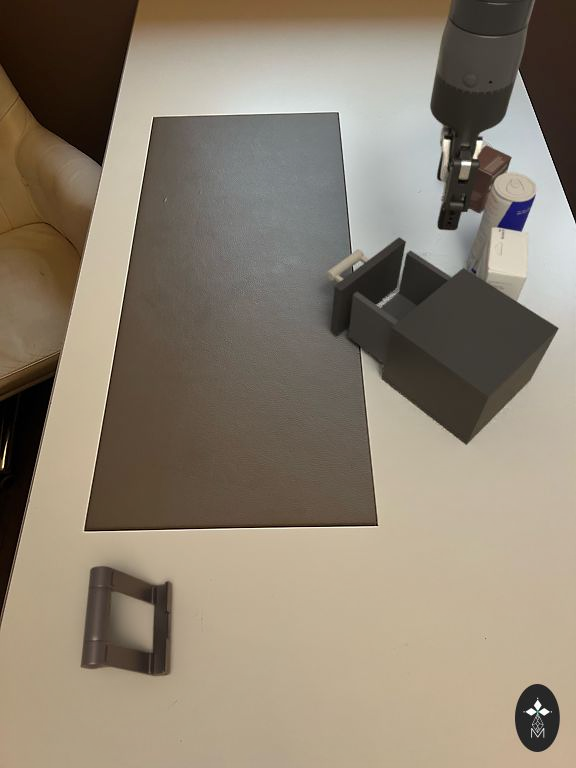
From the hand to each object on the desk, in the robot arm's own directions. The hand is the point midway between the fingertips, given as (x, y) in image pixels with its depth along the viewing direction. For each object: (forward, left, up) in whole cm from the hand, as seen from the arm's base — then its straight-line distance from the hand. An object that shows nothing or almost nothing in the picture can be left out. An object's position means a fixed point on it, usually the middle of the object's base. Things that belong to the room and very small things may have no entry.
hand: (446, 202), depth 73 cm
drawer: (+6, -1, -18) cm, 19 cm away
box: (-25, -9, -19) cm, 32 cm away
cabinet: (+6, +11, -18) cm, 22 cm away
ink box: (-6, +7, -19) cm, 21 cm away
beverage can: (-13, +2, -19) cm, 23 cm away
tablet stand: (+55, +7, -19) cm, 58 cm away
